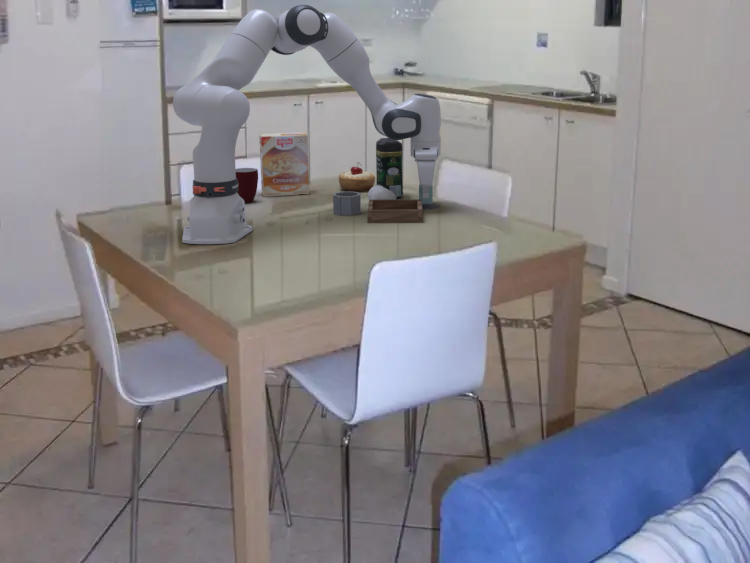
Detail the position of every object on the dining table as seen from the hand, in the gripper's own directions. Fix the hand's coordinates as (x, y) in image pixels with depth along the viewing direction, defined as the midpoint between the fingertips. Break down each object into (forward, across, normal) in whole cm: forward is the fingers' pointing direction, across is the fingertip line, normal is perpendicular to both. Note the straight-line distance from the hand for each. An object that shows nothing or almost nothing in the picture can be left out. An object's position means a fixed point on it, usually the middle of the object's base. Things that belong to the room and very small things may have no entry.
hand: (425, 196), depth 274 cm
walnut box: (+4, +14, -9) cm, 17 cm away
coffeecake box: (+4, -24, -45) cm, 51 cm away
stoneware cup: (+4, +8, -23) cm, 25 cm away
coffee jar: (+4, -18, -11) cm, 21 cm away
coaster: (+4, 0, 0) cm, 4 cm away
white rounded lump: (+4, -2, -13) cm, 14 cm away
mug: (+4, -12, -57) cm, 58 cm away
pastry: (+4, -31, -22) cm, 38 cm away
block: (+2, 0, 0) cm, 2 cm away
